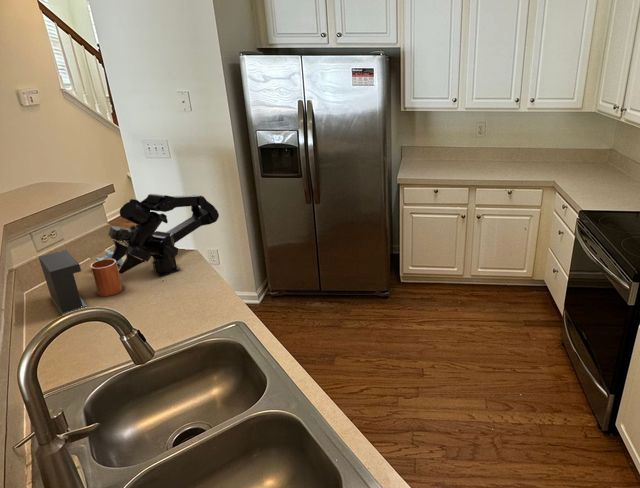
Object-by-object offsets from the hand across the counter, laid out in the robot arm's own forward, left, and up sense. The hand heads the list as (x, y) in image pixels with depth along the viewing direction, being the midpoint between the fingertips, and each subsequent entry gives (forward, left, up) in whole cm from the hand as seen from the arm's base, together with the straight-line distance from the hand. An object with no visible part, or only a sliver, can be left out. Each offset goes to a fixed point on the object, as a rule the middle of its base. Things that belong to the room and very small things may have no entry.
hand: (115, 268), depth 141 cm
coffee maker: (+14, 0, -7) cm, 16 cm away
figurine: (-3, -18, -7) cm, 19 cm away
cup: (+3, 0, -7) cm, 8 cm away
